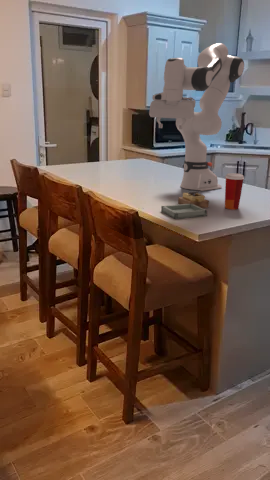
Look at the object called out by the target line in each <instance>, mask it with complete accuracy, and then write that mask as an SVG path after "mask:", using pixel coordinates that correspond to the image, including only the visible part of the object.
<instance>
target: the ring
mask: <svg viewBox="0 0 270 480" xmlns="http://www.w3.org/2000/svg"><path fill="white" fill-rule="evenodd" d="M182 197H183V198H185V199H187V200H189V201H192V202H196V201H197V202H202V201H205V199H206V195H205V194H201V193H199V192H198V193H195V196H192V194H189V193H188V192H182Z"/></svg>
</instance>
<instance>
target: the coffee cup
mask: <svg viewBox="0 0 270 480" xmlns="http://www.w3.org/2000/svg"><path fill="white" fill-rule="evenodd" d="M224 178H225V187H224V188H225V189H224V190H225V192H224V194H225V195H224V208H225V209H227V210H234V211H235V210H236V211H237V210H239V207H240V201H241V197H242V192H243V191H242V190H243V184H244V179H245V176H244V175H243V174H242V173H235V172H234V173H233V172H228V173H226V175H225V177H224Z"/></svg>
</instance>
